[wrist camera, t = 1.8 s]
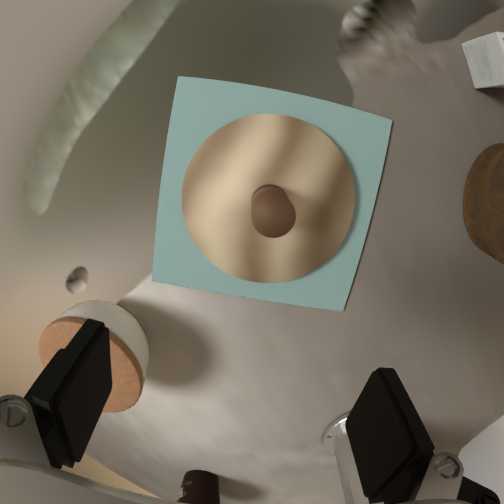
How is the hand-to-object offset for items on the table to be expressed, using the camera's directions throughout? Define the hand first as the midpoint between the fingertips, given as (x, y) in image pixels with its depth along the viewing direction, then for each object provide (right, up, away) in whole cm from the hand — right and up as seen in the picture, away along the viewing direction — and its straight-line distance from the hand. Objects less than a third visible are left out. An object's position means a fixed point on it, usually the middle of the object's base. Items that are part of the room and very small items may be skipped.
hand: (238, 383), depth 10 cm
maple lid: (+2, +10, +22) cm, 24 cm away
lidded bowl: (-17, -5, +28) cm, 33 cm away
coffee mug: (-10, -39, +39) cm, 56 cm away
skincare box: (+29, +27, +16) cm, 43 cm away
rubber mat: (+2, +10, +22) cm, 24 cm away
